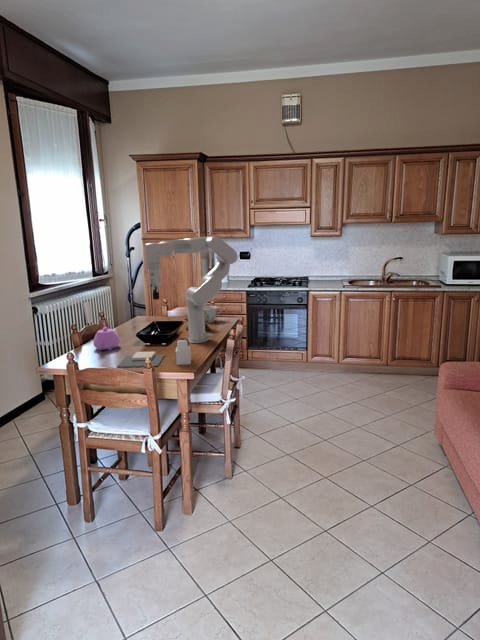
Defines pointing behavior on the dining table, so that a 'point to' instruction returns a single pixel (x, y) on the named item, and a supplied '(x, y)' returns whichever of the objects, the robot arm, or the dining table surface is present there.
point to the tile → (142, 355)
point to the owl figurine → (204, 320)
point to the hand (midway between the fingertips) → (156, 299)
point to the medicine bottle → (183, 352)
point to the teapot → (106, 339)
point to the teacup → (212, 312)
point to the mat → (129, 363)
